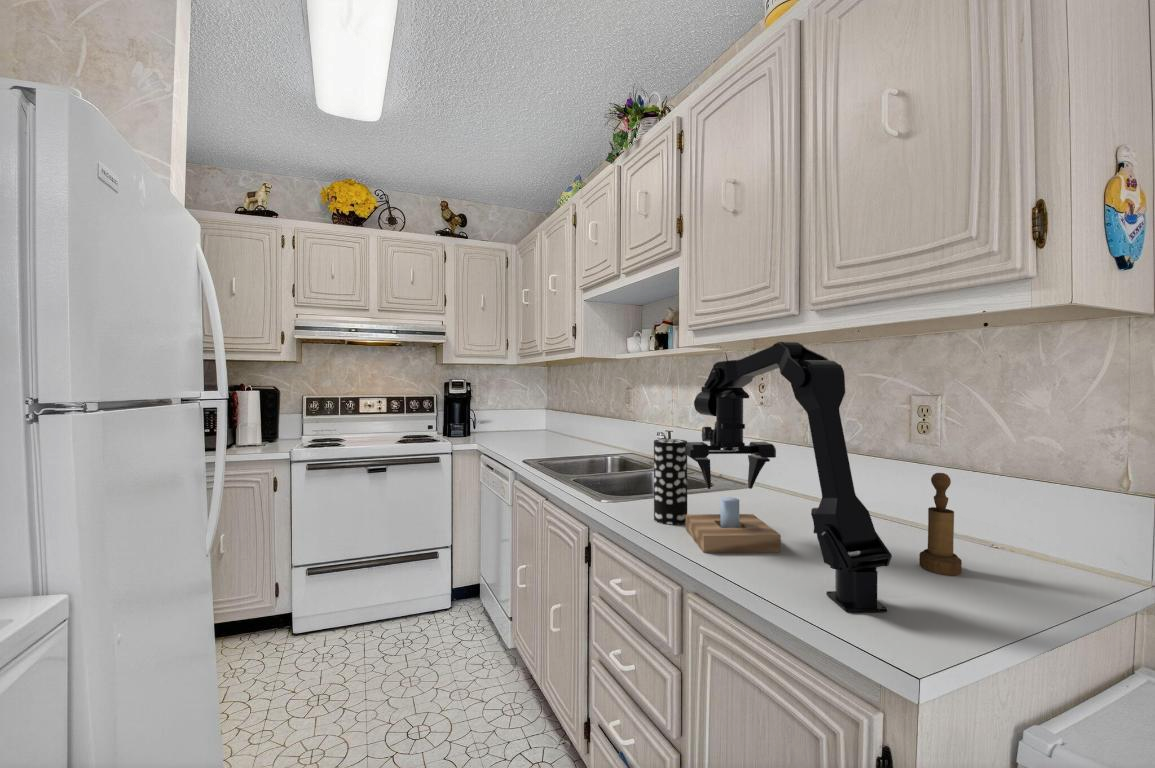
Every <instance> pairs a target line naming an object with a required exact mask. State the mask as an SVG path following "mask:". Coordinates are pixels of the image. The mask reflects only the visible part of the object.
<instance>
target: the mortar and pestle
mask: <svg viewBox="0 0 1155 768" xmlns="http://www.w3.org/2000/svg"><path fill="white" fill-rule="evenodd" d="M930 481H931V485H932V486H933V487H934V489H935V491H936V492H935V494H934V496H933V501H934V504H935V506H931V507H928V508H927V510H928V511H927V513H928V514H927V518H928V519H927V524H928V525H927V527H928V528H927V548H925V549H924V550H923V551H920V553H919V559H918V560H919V567H920V568H922V569H923V570H926V571H928V572H932V573H935V574H939V575H944V576H945V575H946V576H959V575H961V574H962V572H963V571H962V570H963V569H962V568H963V567H962V566H963V563H962V561H963V560H962V559H961V558H960V557H959V556H958V555H957V554H955V553H954V538H955V537H954V536H955V535H954V532H955V530H954V529H955V527H954V526H955V511H954V510H952V509H949V508H947V505H948V503H949V497H947V495H946V492H947V490H948V489H949V487H950V486H951V483H952V482H951V481H952V480H951V477H950V476H949V475H948V474H946V473H944V472H935V473H934V474H932V476H931V478H930Z"/></svg>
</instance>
